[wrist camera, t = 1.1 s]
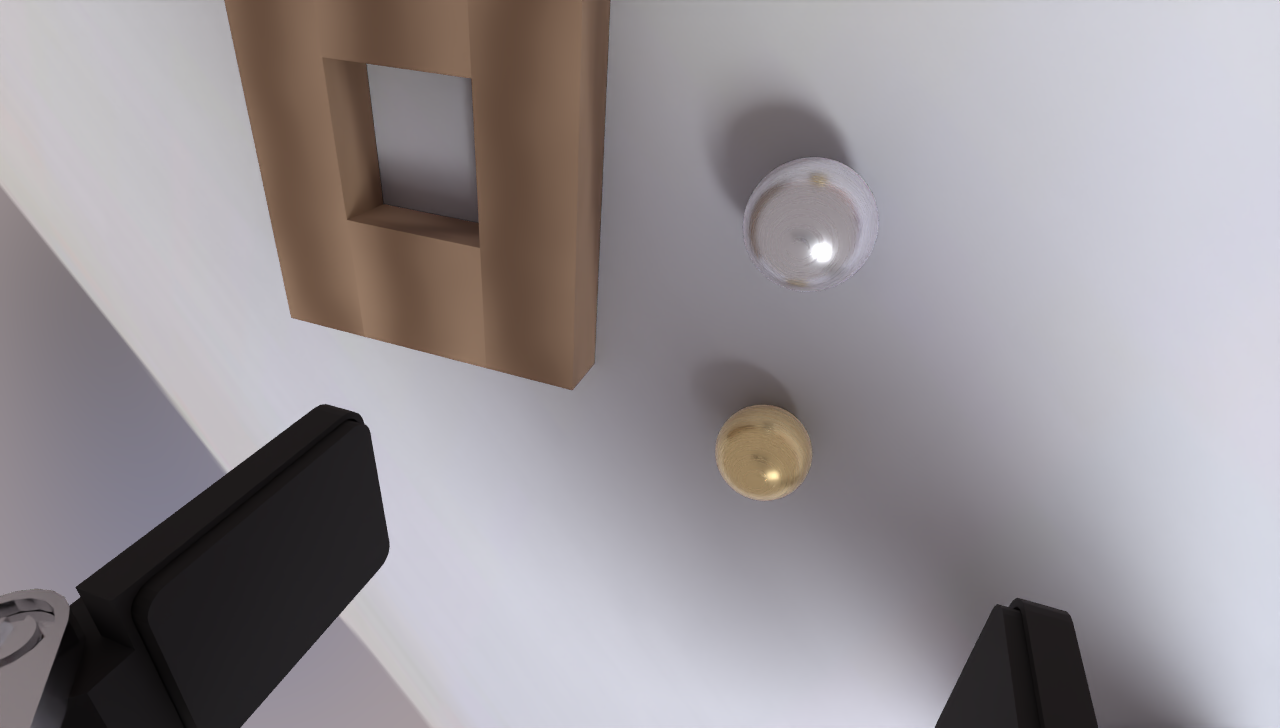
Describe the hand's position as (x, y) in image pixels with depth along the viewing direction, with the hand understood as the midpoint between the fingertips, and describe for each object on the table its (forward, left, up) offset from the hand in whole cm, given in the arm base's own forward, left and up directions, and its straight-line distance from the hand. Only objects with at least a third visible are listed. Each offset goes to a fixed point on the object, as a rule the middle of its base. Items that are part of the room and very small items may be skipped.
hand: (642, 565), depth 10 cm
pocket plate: (+16, 0, -19) cm, 24 cm away
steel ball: (0, 0, -17) cm, 17 cm away
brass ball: (0, +10, -17) cm, 20 cm away
